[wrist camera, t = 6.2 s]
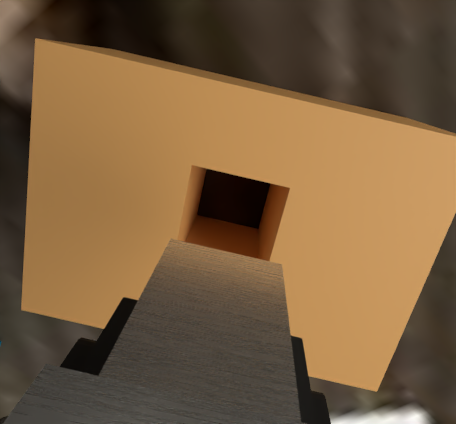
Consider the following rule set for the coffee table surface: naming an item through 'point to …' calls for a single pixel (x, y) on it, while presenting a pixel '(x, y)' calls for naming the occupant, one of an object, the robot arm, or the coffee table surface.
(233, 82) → the tissue box
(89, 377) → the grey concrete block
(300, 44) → the coffee table surface
